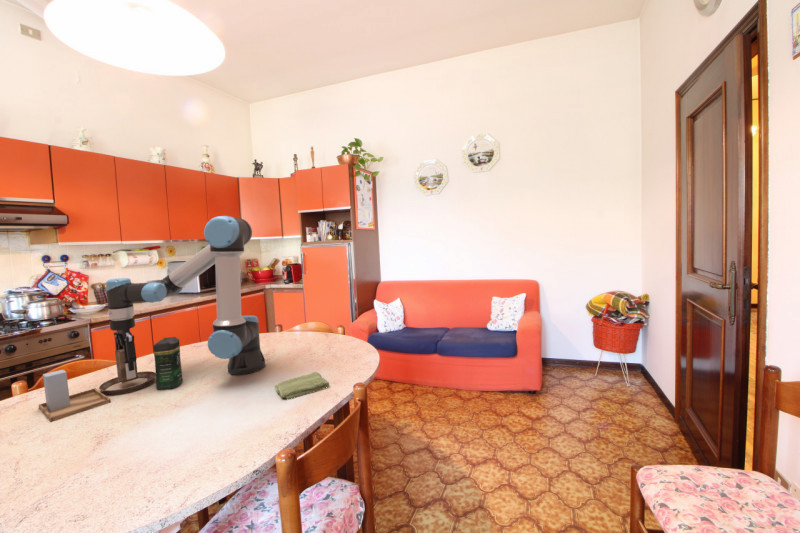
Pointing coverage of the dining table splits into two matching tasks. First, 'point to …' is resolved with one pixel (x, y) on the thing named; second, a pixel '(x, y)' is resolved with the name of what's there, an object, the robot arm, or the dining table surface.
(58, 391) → the plain carton
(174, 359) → the coffee jar
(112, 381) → the plant saucer
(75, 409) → the parts tray
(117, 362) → the labelled carton
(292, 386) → the washcloth
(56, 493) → the dining table surface
